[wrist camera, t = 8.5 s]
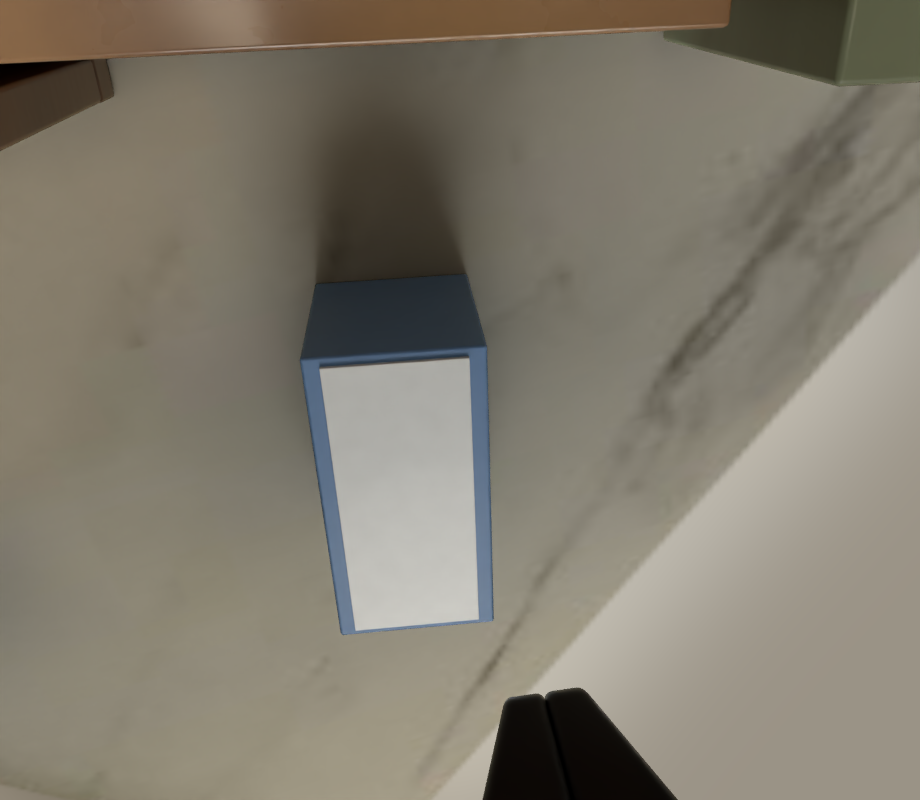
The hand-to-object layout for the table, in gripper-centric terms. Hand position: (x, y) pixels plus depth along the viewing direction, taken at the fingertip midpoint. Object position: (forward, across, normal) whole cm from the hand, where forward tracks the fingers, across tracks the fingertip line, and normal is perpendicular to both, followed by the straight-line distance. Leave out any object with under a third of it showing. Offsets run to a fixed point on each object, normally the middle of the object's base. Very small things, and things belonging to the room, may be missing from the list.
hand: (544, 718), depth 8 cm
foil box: (+12, +2, +3) cm, 12 cm away
